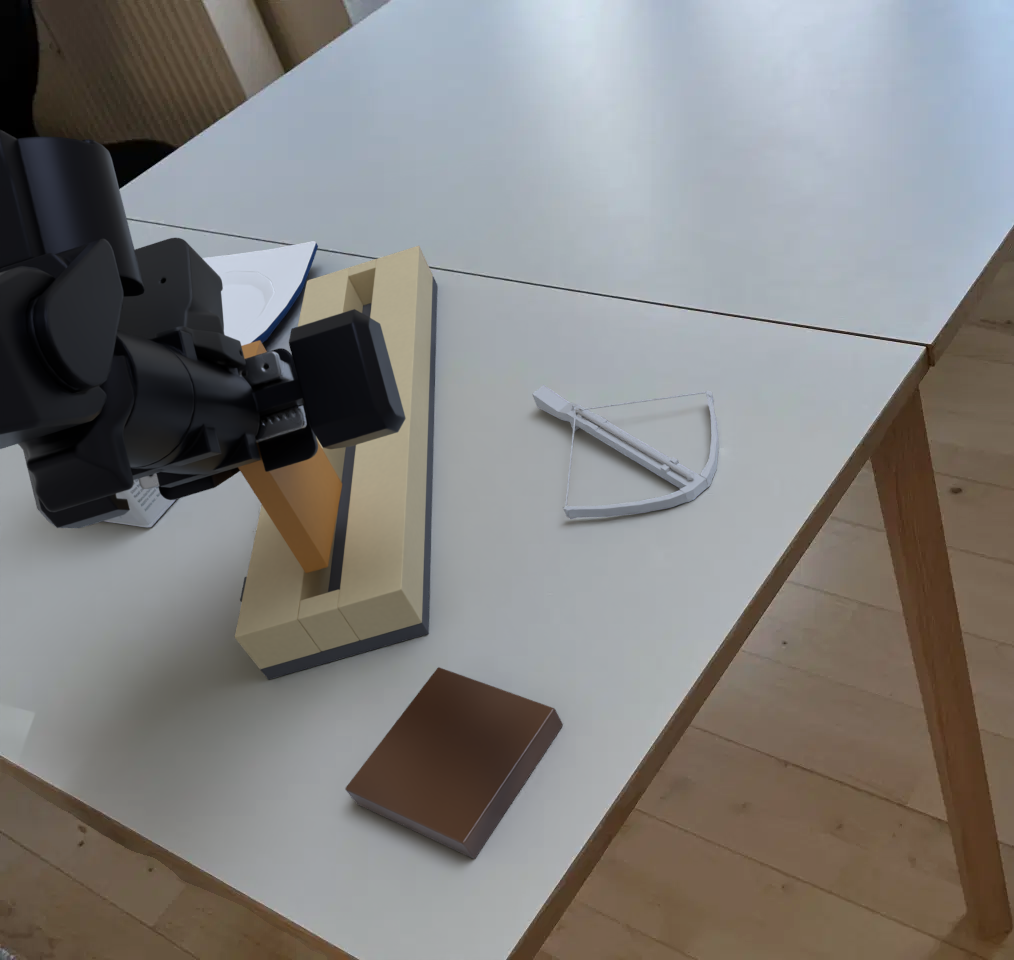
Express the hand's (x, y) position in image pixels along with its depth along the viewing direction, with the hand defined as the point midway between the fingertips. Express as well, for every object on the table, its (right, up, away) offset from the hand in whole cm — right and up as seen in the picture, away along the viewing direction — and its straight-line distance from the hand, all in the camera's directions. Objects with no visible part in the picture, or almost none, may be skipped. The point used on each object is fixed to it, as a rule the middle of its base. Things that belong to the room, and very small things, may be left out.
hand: (281, 436), depth 64 cm
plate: (-19, +11, +35) cm, 41 cm away
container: (-16, -3, +19) cm, 25 cm away
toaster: (+1, 0, +16) cm, 16 cm away
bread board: (+12, -17, -7) cm, 22 cm away
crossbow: (+19, 0, +8) cm, 21 cm away
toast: (+2, -5, +3) cm, 6 cm away
